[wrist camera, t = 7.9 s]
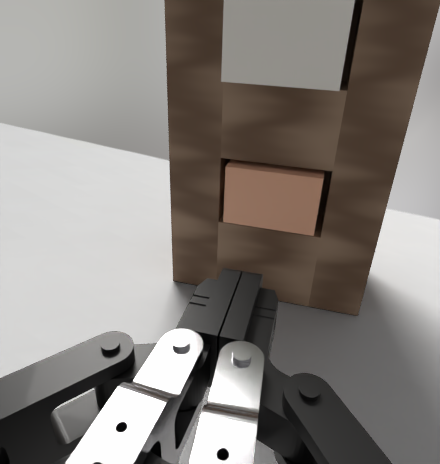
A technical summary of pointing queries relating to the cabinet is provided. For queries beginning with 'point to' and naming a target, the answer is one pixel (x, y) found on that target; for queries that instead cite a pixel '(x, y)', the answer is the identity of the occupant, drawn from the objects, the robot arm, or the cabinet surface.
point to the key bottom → (272, 196)
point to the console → (291, 150)
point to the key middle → (286, 42)
